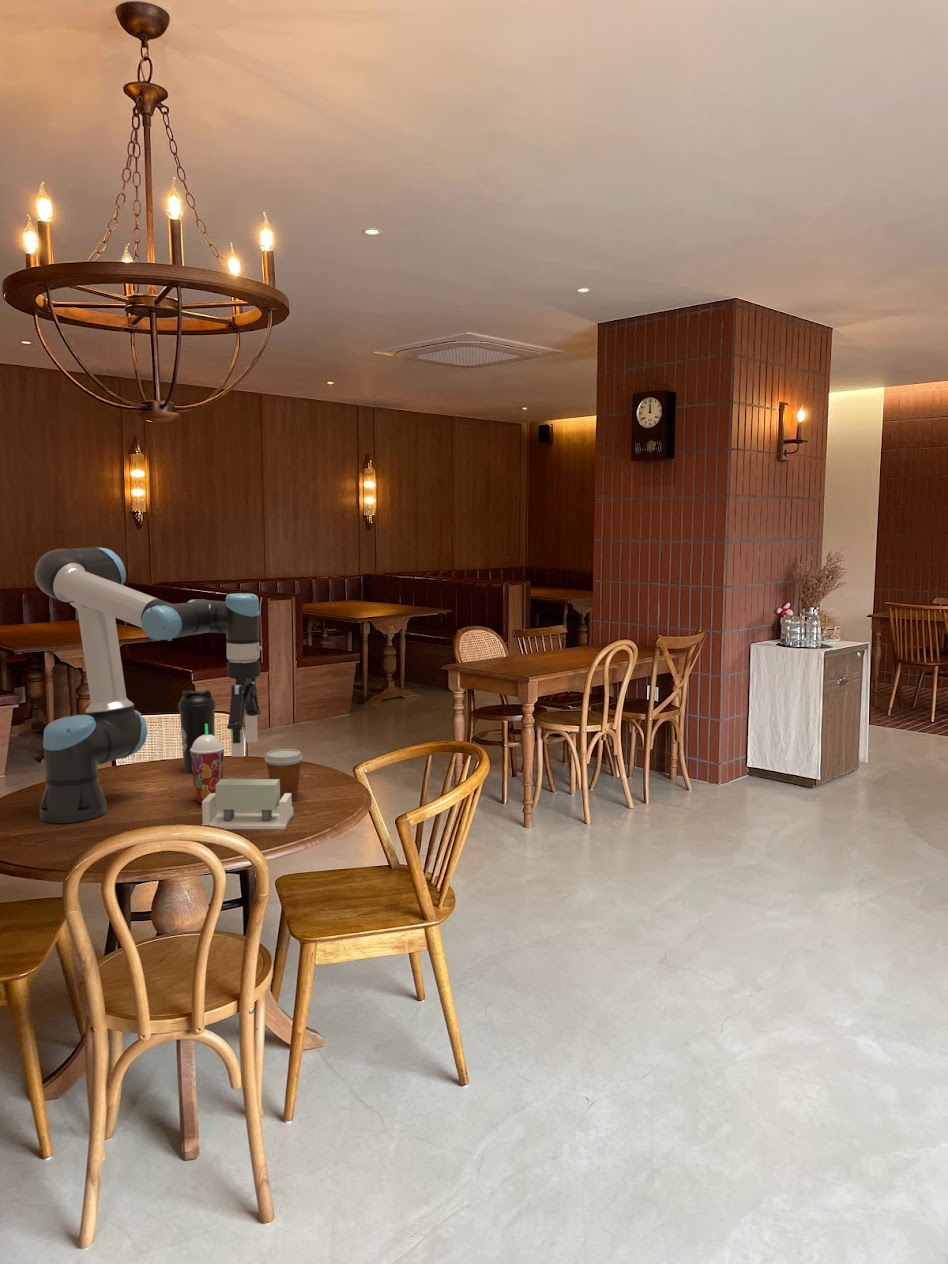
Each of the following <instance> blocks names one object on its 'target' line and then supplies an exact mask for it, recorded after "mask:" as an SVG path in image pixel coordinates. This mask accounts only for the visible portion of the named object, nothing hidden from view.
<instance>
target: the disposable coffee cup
mask: <svg viewBox="0 0 948 1264" xmlns="http://www.w3.org/2000/svg"><path fill="white" fill-rule="evenodd" d="M302 759H303V755H302V753H301V751H300V750H298V749H292V748H284V749H283V748H281V749H274V750H269V751H268V752H266V755H265V757H264V760H265V763H266V766H267V773H268V779H280V800H281V798H282V797H283V795H284V794H285V793H291V794H292V801H295V800H297V799H298V792H299V782H300V772H301V763H302V761H303V760H302Z"/></svg>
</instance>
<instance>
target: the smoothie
mask: <svg viewBox="0 0 948 1264" xmlns="http://www.w3.org/2000/svg"><path fill="white" fill-rule="evenodd" d="M224 750H225V746H224V745H223V743H222V742H221V740H220V739H219V738H218V737H217V736H215V735H214V736H213V735H210V734H208V724H205V735H202V736H200V737H198V738H197V739H196V740H195V741H194V743H193V745H192V748H191V749H190V752H191V762H192V772H193V774H192V779H193V780H192V781H193V788H194V789H193V790H194V791H193V792H194V798H196V801H197V803H198V804H202V801H203V800H204V799H205V798H206V797H207V796H208V795H209V794H210V793H216V786H215V785H216V784H217V783H218V782H219V781H220V780H221V779H224V761H225V760H224V759H225V751H224Z"/></svg>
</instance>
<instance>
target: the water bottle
mask: <svg viewBox="0 0 948 1264" xmlns="http://www.w3.org/2000/svg"><path fill="white" fill-rule="evenodd" d="M181 692H182V695H183V696H182V697H181V699H180V700H179V702H178V704H177V705H178V711H179V714H180V715H179V716H180V717H179V720H180V732H181V733H180V735H181V749H182V752H181V753H182V760H183V761H182V762H183V763H182V764H183V772H184V773H186V774H191V775H193V772H192V762H191V752H190V749H191V748H192V745H193V743H194V741H195V740H196V739H197V738H198V737H200V736H202V735H205V724H208V734H210V735H213V736H215V710H216V700H215V699H214V697H213V696H212V692H211V691H210V689H204V690H203V691H197V690H189V689H188V690H183V691H181Z"/></svg>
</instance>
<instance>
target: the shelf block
mask: <svg viewBox="0 0 948 1264" xmlns="http://www.w3.org/2000/svg"><path fill="white" fill-rule="evenodd" d="M215 786H216V810H276V809H277V807H279V801H280V779H269V778H223V779H221V780H220V781H219V782H218V783H217V784H216V785H215Z"/></svg>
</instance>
